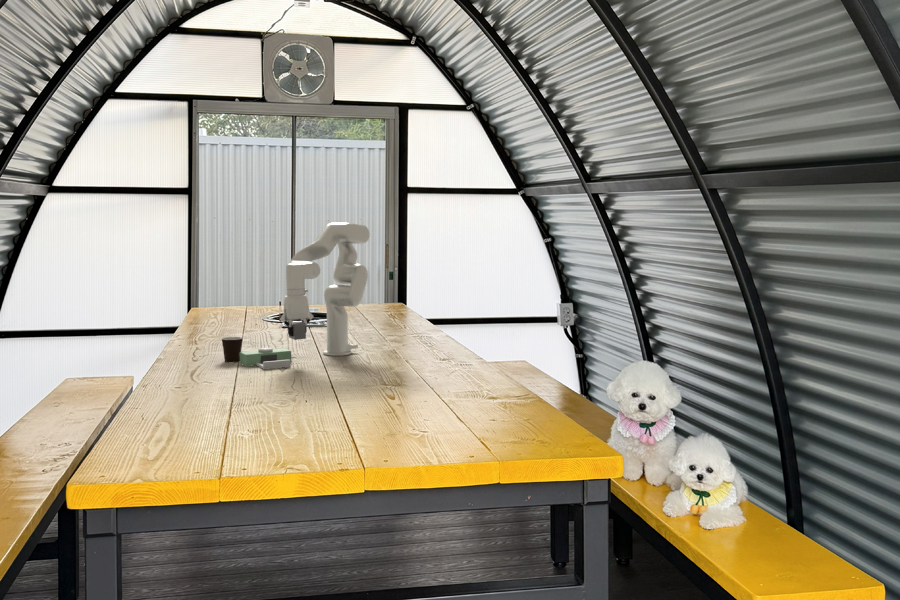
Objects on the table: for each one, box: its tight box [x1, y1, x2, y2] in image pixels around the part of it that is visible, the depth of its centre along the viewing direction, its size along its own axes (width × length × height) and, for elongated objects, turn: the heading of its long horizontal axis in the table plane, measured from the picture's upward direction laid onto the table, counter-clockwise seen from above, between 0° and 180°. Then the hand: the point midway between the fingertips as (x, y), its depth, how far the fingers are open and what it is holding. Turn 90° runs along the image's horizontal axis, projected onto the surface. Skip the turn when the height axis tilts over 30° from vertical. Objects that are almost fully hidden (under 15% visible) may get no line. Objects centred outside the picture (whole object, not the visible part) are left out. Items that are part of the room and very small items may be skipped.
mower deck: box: [239, 347, 292, 370], centre depth 340 cm, size 20×18×6 cm
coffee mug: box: [221, 336, 243, 363], centre depth 349 cm, size 12×9×10 cm
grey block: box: [288, 321, 307, 341], centre depth 341 cm, size 5×7×7 cm
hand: (297, 334), depth 341 cm, fingers closed on grey block, 5 cm apart
